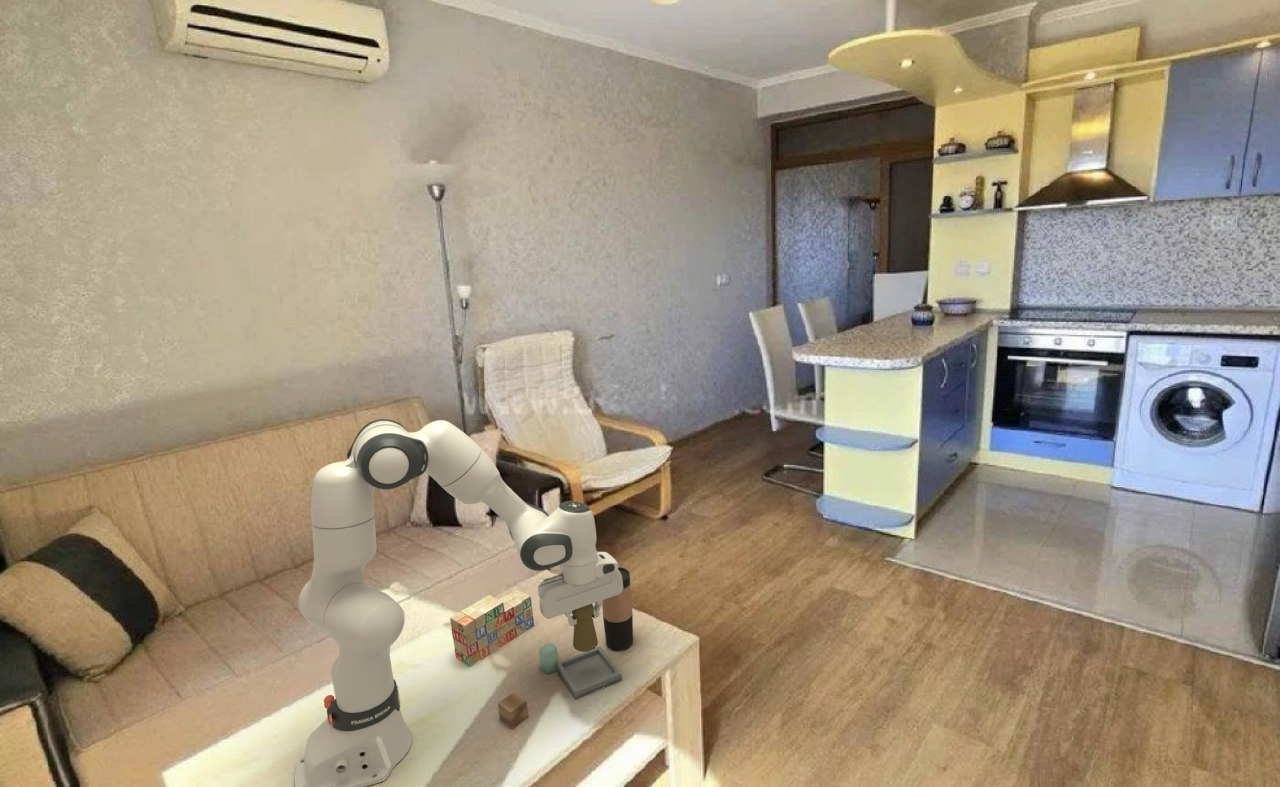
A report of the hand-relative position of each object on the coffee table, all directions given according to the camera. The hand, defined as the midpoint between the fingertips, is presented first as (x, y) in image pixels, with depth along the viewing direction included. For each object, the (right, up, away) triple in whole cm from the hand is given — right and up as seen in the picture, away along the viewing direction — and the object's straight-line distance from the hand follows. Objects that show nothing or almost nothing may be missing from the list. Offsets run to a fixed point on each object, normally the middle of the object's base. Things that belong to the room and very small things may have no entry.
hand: (584, 620), depth 147 cm
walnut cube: (-15, -19, -9) cm, 26 cm away
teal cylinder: (-9, -14, +7) cm, 18 cm away
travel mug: (+8, -12, +15) cm, 21 cm away
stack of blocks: (-25, -13, +18) cm, 34 cm away
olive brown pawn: (0, -6, +2) cm, 7 cm away
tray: (+1, -15, +4) cm, 15 cm away
